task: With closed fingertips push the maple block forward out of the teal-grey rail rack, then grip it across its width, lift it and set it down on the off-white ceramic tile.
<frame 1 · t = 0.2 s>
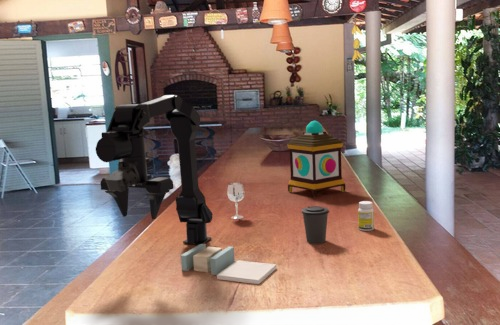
hand: (139, 217, 130), 14 cm above the table, fingers open, 9 cm apart
maple block: (208, 266, 135), on the table
supplement bottle: (366, 229, 162), on the table
decorative lantern: (316, 192, 220), on the table
rail rack: (208, 265, 135), on the table
wineglass: (237, 218, 184), on the table
coffee cup: (316, 241, 152), on the table
ceramic tile: (247, 273, 128), on the table
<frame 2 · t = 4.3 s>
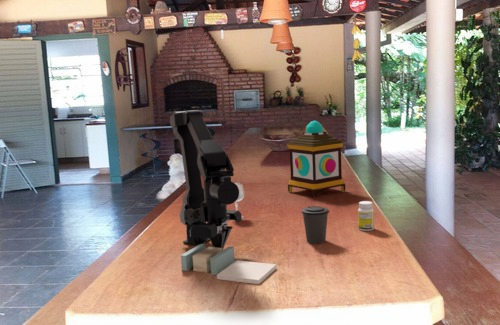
hand: (218, 254, 140), 1 cm above the table, fingers closed
maple block: (208, 266, 135), on the table, touching gripper
everything else where it was.
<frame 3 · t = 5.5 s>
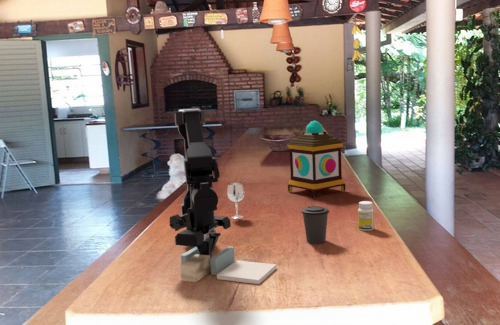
hand: (206, 262, 134), 1 cm above the table, fingers closed
maple block: (196, 275, 129), on the table, touching gripper
everything else where it was.
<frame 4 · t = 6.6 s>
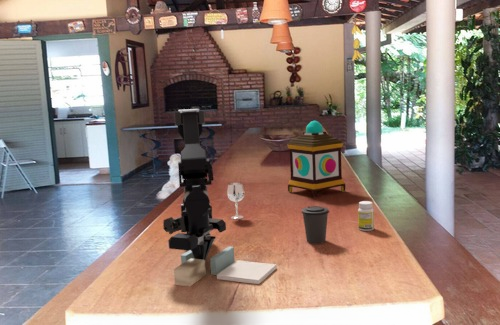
hand: (200, 266, 132), 1 cm above the table, fingers closed
maple block: (190, 280, 127), on the table, touching gripper
everything else where it was.
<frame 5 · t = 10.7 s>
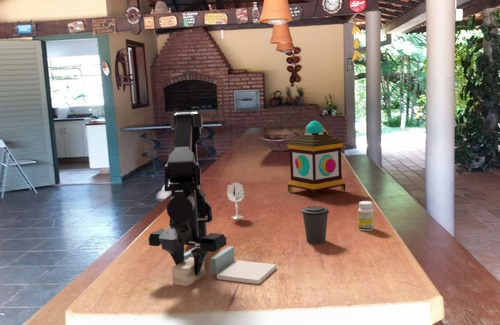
hand: (189, 274, 127), 1 cm above the table, fingers closed on maple block, 4 cm apart
maple block: (189, 279, 127), on the table, touching gripper
everything else where it was.
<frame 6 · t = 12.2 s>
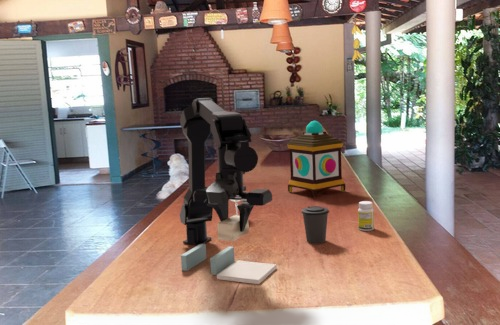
hand: (234, 230, 126), 11 cm above the table, fingers closed on maple block, 4 cm apart
maple block: (233, 235, 126), point 10 cm above the table, touching gripper
everything else where it was.
when the fingers open (4 cm above the table, at t = 14.0 s): maple block drops 2 cm, resting on ceramic tile.
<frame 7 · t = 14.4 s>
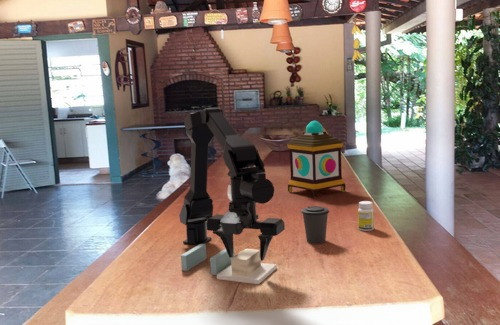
hand: (246, 258, 128), 4 cm above the table, fingers open, 8 cm apart
maple block: (246, 269, 128), point 1 cm above the table, touching ceramic tile
everything else where it was.
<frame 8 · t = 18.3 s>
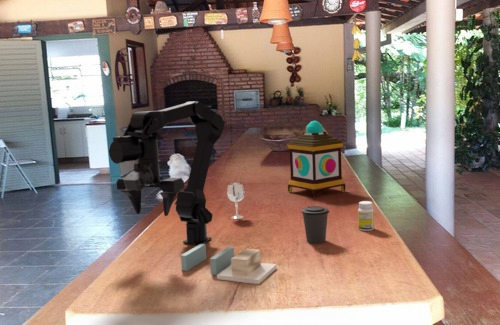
hand: (152, 214, 143), 12 cm above the table, fingers open, 9 cm apart
nothing on the table moved.
at the end: maple block inside the target area on the ceramic tile (0.1 cm from its centre), point 1.0 cm above the ceramic tile's base; maple block tilted 0°; the gripper is holding nothing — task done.
